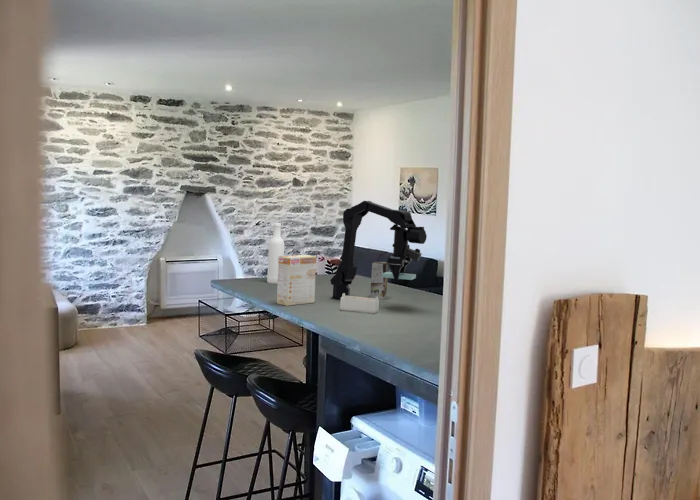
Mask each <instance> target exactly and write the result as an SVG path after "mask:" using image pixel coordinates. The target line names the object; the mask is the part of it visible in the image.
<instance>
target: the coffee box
mask: <svg viewBox="0 0 700 500" xmlns="http://www.w3.org/2000/svg"><path fill="white" fill-rule="evenodd" d="M371 265H372V266H371V277H370V294H369V295H370V297H369V298H375V297H378V299H379V300H383V301H384V300H385V299H386V298H387V294H388V293H387V292H388V278H385V277H382V273H385V272H389V264H388V263H387V261H374V262H372V263H371Z"/></svg>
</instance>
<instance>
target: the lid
mask: <svg viewBox="0 0 700 500" xmlns="http://www.w3.org/2000/svg"><path fill="white" fill-rule="evenodd" d="M382 277H385V278H387V279H394V276H393V274H392V271H388V272H385V273H382ZM414 279H417V274H416V273H405V272H404V273H400V274H399V278H398V280H409V281H412V280H414Z"/></svg>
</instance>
